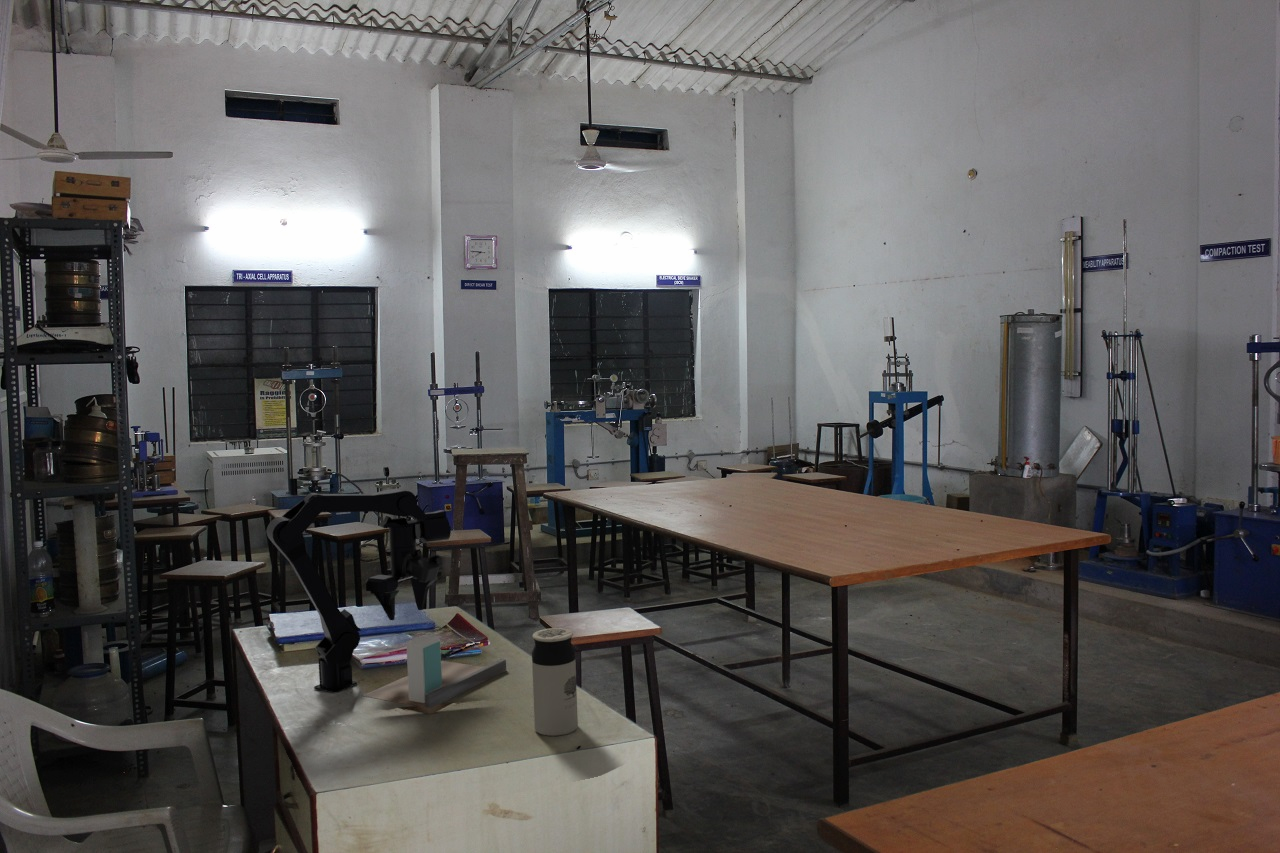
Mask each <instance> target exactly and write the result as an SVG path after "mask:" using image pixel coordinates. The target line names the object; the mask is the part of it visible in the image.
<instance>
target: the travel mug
mask: <svg viewBox="0 0 1280 853" xmlns="http://www.w3.org/2000/svg"><path fill="white" fill-rule="evenodd" d="M573 636H574V631H572V630H570V629H568V628H559V627H553V628H552V627H551V628H550V627H549V628H545V629H544V628H543V629H540V630H537V631H535V632H533V634H532V638H533V640H534V647H533V649H532V651H531V663H532V664H531V667H532V689H533V690H532V693H533V713H534V714H533V715H534V716H533V718H534V721H533V722H534V730H535V732H536V733H538V734H540V735H543V736H546V735H547V736H548V737H559V736H558V735H561V736H563V735H564V736H565V735H568V734H570V733H572V732H574V731H576V730H577V729H578V726H579V725H578V724H579V722H578V721H579V720H578V719H579V718H578V696H577V695H578V694H577V693H578V692H577V669H576V666H577V665H576V649H575V646H574V645H573V643H572V639H573V638H572V637H573ZM547 736H546V737H547Z"/></svg>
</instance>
